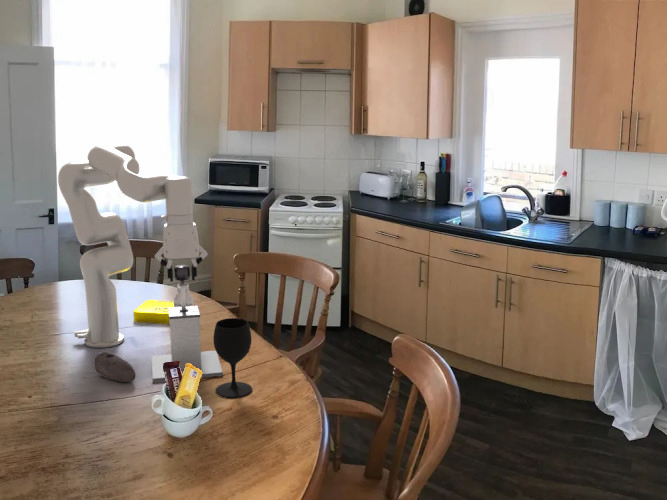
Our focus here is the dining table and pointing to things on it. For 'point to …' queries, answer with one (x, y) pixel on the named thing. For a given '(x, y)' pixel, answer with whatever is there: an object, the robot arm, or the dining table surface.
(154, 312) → the element tile
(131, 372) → the perforated stone tool
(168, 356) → the grey board
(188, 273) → the dark grey cylinder
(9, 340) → the dining table surface
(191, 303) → the plastic bottle
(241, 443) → the dining table surface
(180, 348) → the grey block
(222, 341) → the wine glass
